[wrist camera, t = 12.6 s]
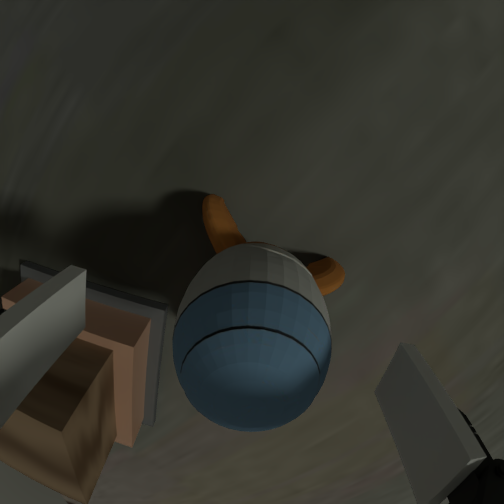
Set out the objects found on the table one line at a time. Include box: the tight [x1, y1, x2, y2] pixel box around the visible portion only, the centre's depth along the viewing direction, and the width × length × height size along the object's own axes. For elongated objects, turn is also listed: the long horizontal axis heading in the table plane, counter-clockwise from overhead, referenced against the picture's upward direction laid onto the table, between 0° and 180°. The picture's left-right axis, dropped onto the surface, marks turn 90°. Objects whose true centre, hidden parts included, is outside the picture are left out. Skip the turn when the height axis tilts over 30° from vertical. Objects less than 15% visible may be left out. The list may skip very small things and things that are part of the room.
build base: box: [1, 261, 168, 447], centre depth 24 cm, size 14×14×5 cm
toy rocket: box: [173, 194, 345, 432], centre depth 17 cm, size 10×11×15 cm
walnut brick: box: [0, 338, 117, 504], centre depth 17 cm, size 10×9×8 cm
